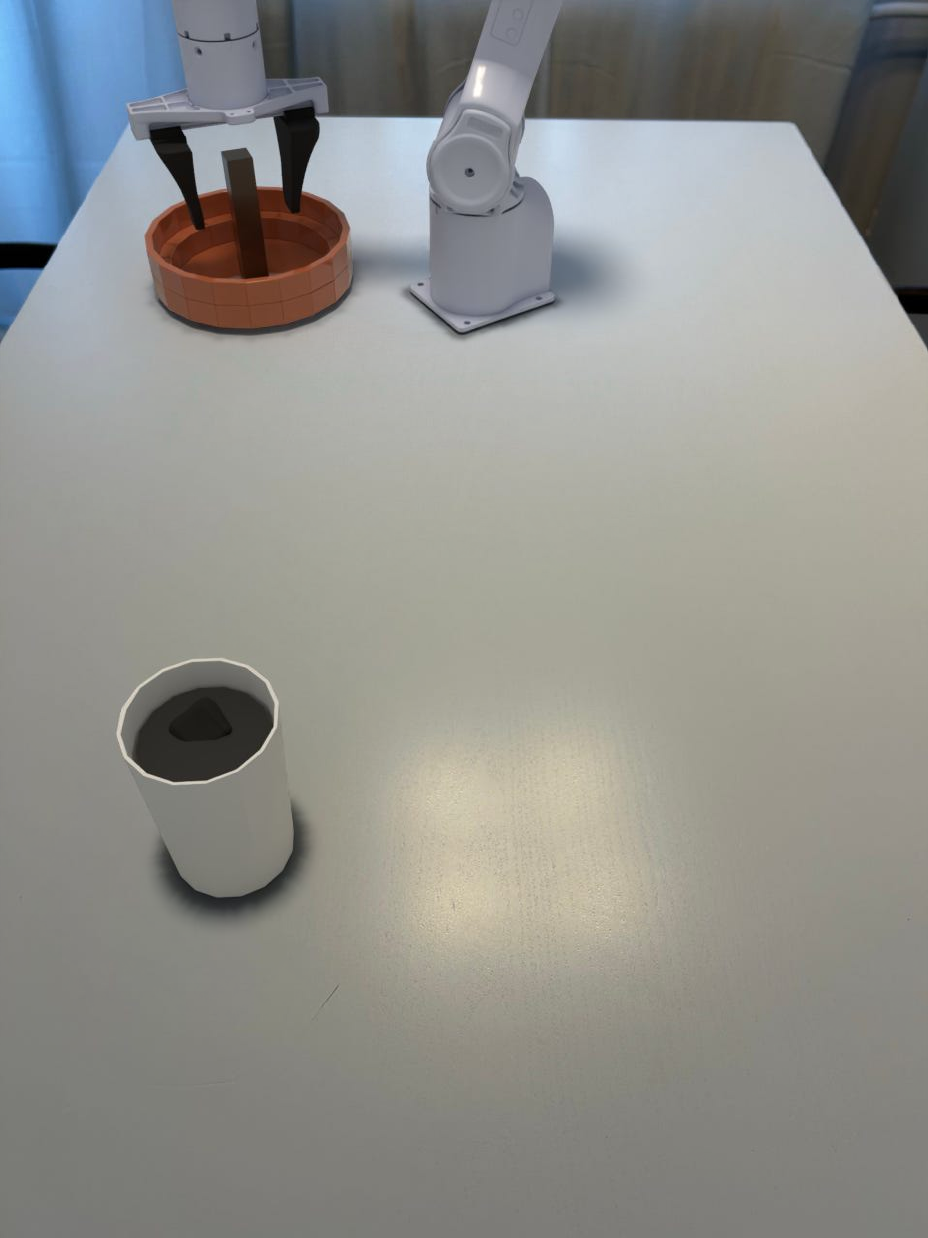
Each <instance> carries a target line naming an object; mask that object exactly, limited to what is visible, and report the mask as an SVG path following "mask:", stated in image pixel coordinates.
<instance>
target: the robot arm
mask: <svg viewBox="0 0 928 1238" xmlns="http://www.w3.org/2000/svg"><path fill="white" fill-rule="evenodd" d="M563 2H564V0H491V2H490V5H489V9H488V13H487V14H486V18H485V20H484V21H485V22H484V24H483V26H482V31H481V33H480V36H479V40H478V43H477V45H476V48H475V53H474V54H473V55H474V56H473V59H472V61H471V64H470V67H469V71H468V74H467V75H466V77H465V78H464V80H463V81H462V82H461V83H460V84H459V85H458V86H457V87H456V88H455V89H454V90H453V91H452V93H451V94H450V95H449V97H448V98H447V100H446V102H445V106H444V107H443V112H442V120H441V123H440V126H439V129H438V132H437V134H436V137H435V139H434V140H433V141H432V143H431V145H430V148H429V150H428V153H427V157H426V163H425V164H426V165H425V168H426V169H425V171H426V176H427V180H428V183H429V184H428V192H429V194H428V203H429V204H428V205H429V206H428V208H429V211H428V212H429V213H428V215H429V217H428V218H429V278H426V279H423V280H419V281H416V282H413V283H411V284H410V285H409V292H410V293H412V294H413V295H414V296H415V297H416V298H418V299H419V300H420V301H421V302H422V303H423V304H425V305H426V306H427V307H428V308H429V309H431V310H432V311H433V312H434V313H435V314H437V315H438V316H439V317H440V318H441V319H442V320H443V321H445V322H446V323H447V324H448V325H449V326H451V327H452V328H453V329H454V330H455V331H456V332H458V333H467V332H468V331H471V330H474V329H478V328H480V327H483V326H486V325H489V324H492V323H494V322H498V321H500V320H503V319H506V318H509V317H512V316H515V315H518V314H521V313H523V312H526V311H527V312H528V311H529V310H532V309H536V308H538V307H540V306H544V305H546V304H550V303H552V302H554V301H555V298H556V295H555V293H554V292H552V291H551V290H550V285H551V274H552V272H551V271H552V261H553V260H552V259H553V246H554V237H555V217H554V211H553V205H552V203H551V199H550V196H549V195H548V193H547V191H546V189H545V188H544V187H543V186H542V184H541V183H540V182H539V181H537V180H536V179H535V178H533V177H531V176H521V175H520V174H519V172H518V169H517V167H516V163H517V158H518V154H519V149H520V145H521V144H522V139H523V137H524V133H525V129H526V116H525V111H526V107H527V103H528V101H529V98H530V94H531V91H532V88H533V85H534V81H535V79H536V76H537V73H538V71H539V68H540V65H541V62H542V61H543V56H544V54H545V51H546V49H547V46H548V44H549V40H550V38H551V35H552V32H553V29H554V27H555V25H556V21H557V19H558V16H559V13H560V11H561V8H562V5H563ZM171 6H172V13H173V16H174V22H175V23H174V24H175V29H176V35H177V41H178V46H179V51H180V58H181V63H182V68H183V74H184V80H185V85H186V87H185V88H182V89H179V90H175V91H172V92H168V93H165V94H161V95H158V96H155V97H151V98H148V99H143V100H139V101H133V102H127V103H125V108H126V112H127V117H128V123H129V126H130V131H131V132H132V135H133V137H134V139H135V141H137V142H138V141H145V140H149V141H150V143H151V145H152V147H153V149H154V151H155V152H156V154H157V156H158V158H159V159H160V161H161V162H162V164H163V165H164V166H165V168H166V169H167V170H168V172H169V173H170V175H171V177H172V178H173V179H174V181H175V183H176V185H177V187H178V188H179V190H180V192H181V195H182V198H183V199H184V200H185V202H186V205H187V208H188V211H189V214H190V218H191V221H192V223H193V225H194V227H195V229H196V230H203V229H205V222H204V216H203V213H202V209H201V205H200V201H199V197H198V195H199V193H198V188H197V181H196V174H195V166H194V165H195V164H194V153H193V151H192V149H191V147H190V146H189V143H188V140H187V136H186V135H185V133H184V131H187V130H193V129H194V130H195V129H200V128H206V127H207V128H208V127H215V126H220V125H228V126H241V125H246V124H247V125H248V124H253V123H254V122H256V120H262V119H269V118H272V119H273V123H274V128H275V134H276V138H277V145H278V151H279V157H280V169H281V170H280V171H281V185H282V186H281V187H283V194H284V200H285V204H286V205H287V207H288V208H289V210H290V212H291V213H292V214H294V213H299V212H300V203H301V194H302V191H303V187H304V186H303V185H304V182H305V177H306V173H307V168H308V167H309V163H310V159H311V157H312V155H313V152H314V149H315V147H316V145H317V143H318V140H319V139H320V132H321V124H320V121H319V120H318V119H317V117H316V115H319V114H327V113H329V112H330V108H329V96H328V86H327V84H326V83H325V82H324V81H323V79H322V78H321V77H320V76H314V77H305V78H303V77H302V78H266V71H265V62H264V52H263V45H262V35H261V28H260V22H259V21H260V20H259V13H258V6H257V0H171Z"/></svg>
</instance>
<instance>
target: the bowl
mask: <svg viewBox="0 0 928 1238" xmlns="http://www.w3.org/2000/svg"><path fill="white" fill-rule="evenodd" d="M257 192H258V200H259V207H260V215H261V222H262V229H263V237H264V244H265V251H266V259H267V266H268V273H269V276H267V277H259V278H251V279H243V277H242V275H241V273H240V270H239V263H238V257H237V251H236V244H235V238H234V232H233V225H232V219H231V213H230V206H229V200H228V194H227V188H221V189H217V190H214V191H213V190H212V191H209V192H205V193H201V194H198V197H199V201H200V205H201V209H202V213H203V216H204V222H205V229H203V230H196V229H195V227H194V225H193V223H192V221H191V218H190V214H189V211H188V208H187V205H186V202H185V199H184V200H181V201H179V202H177V203H174V204H173V205H171V206H169V207H168V208H166V209H165V210H164V211H163V212H161V213H160V214H159V215H157V216H156V217H155V218H154V219H152V220H151V222H150V225H149V226H148V228H147V230H146V232H145V234H144V242H145V250H146V255H147V259H148V264H149V268H150V272H151V277H152V278H151V279H152V281H153V287H154V290H155V294H156V296H157V297H158V299H159V300H160V301H161V302H162V303H163V304H164V306H165V307H166V308H167V310H170V311H171V312H173V313H175V314H177V315H179V316H180V317H183V319H186V320H188V321H191V322H194V323H199V324H203V325H208V326H211V327H216V328H228V329H259V328H265V327H274V326H281V325H282V326H283V325H287V324H289V323H293V322H297V321H300V320H303V319H306V318H309V317H312V316H314V315H316V314H318V313H319V312H321V311H323V310H324V309H326V308H328V307H330V306H332V305H334V304H335V303H337V302H338V300H340V299H341V297H343V295H344V294H345V293H346V291H347V290H348V289H349V288H350V286H351V283H352V278H353V274H354V262H353V247H352V234H351V226H350V224H349V221H348V219H347V216H346V214H345V213H344V212H343V211H342V210H341V209H340V208H339V207H337V206H336V205H335V204H334V203H332V201H330V200H329V199H326V198H323V197H321V196H319V195H316V194H313V193H311V192H308V191H303V190H302V194H301V203H300V212H299V213H294V214H292V213H291V212H290V210H289V208H288V207H287V205H286V204H285V200H284V194H283V187H282V186H261V185H260V186H259V185H257Z"/></svg>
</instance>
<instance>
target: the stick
mask: <svg viewBox="0 0 928 1238" xmlns="http://www.w3.org/2000/svg"><path fill="white" fill-rule="evenodd" d="M220 155H221V162H222V167H223V168H222V169H223V175H224V180H225V187H226V189H227V194H228V200H229V206H230V213H231V219H232V225H233V232H234V238H235V244H236V251H237V257H238V263H239V270H240V273H241V275H242V277H243V279H251V278H259V277H267V276H269V273H268V266H267V259H266V251H265V244H264V237H263V229H262V222H261V215H260V207H259V200H258V192H257V186H258V185H257V179H256V171H255V164H254V158H253V156H252V154H251V152H250V151H249V150H248V148H247V147H240V148H233V149H227V150H221V151H220Z"/></svg>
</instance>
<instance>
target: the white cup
mask: <svg viewBox="0 0 928 1238" xmlns="http://www.w3.org/2000/svg"><path fill="white" fill-rule="evenodd" d="M134 689H135V690H134V691H133V692H132V694H131V695H130V696H129V698H128V699H127V701H126V702H125V703H124V704H123V705H122V707H121V709H120V714H119V717H118V723H117V728H116V733H115V735H116V739H117V741H118V744H119V747H120V750H121V754H122V757H123V759H124V761H125V763H126V765H127V768H128V770H129V771H130V773H131V776H132V778H133V780H134V782H135V785H136V786H137V788H138V791H139V792H140V795H141V797H142V799H143V801H144V803H145V805H146V808H147V809H148V811H149V813H150V816H151V818H152V820H153V821H154V823H155V826H156V828H157V830H158V832H159V834H160V836H161V838H162V840H163V842H164V845H165V846H166V848H167V851H168V853H169V854H170V857H171V859H172V862H173V863H174V865H175V867H176V869H177V871H178V873H179V875H180V877H181V878H182V879H183V880H184V881H185V882H186V883H187V884H188V885H189V886H190V887H191V888H192V889H194V890H195V891H196V892H199V893H202V894H205V895H208V896H211V897H214V898H234V897H235V898H236V897H244V896H246V895H248V894H251V893H253V892H255V891H258V890H260V889H264V888H265V887H266V886H267V885H269V884H270V883H271V882H272V881H273V880H274V879H275V878H276V877H278V875H280V874H281V873H282V872H283V871H284V869H285V868H286V865H287V863H288V861H289V860H290V857H291V855H292V853H293V851H294V837H295V836H294V835H295V830H294V829H295V828H294V822H293V813H292V803H291V796H290V788H289V779H288V769H287V761H286V752H285V746H284V745H285V744H284V735H283V727H282V717H281V709H280V702H279V700H278V697H277V696H276V694H275V691H274V689H273V687H272V684H271V683H270V681H269V680H268V679H267V678H266V677H264V676H263V675H262V674H260V672H258V671H257V670H256V669H254V668H253V667H252V666H250V665H249V664H246V663H242V662H238V661H234V660H231V659H228V658H224V657H212V658H211V657H210V658H190V659H187V660H185V661H181V662H178V663H176V664H173V665H170V666H166V667H164V668H162V669H160V670H159V671H157V672H156V673H154V674H153V675H152V676H150V677H149V678H147V679H145V680H144V681H143V682H142V683H140V684H138V685H137V686H136V688H134Z"/></svg>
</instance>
